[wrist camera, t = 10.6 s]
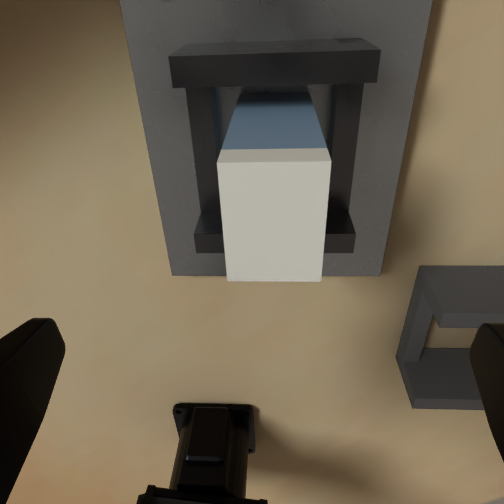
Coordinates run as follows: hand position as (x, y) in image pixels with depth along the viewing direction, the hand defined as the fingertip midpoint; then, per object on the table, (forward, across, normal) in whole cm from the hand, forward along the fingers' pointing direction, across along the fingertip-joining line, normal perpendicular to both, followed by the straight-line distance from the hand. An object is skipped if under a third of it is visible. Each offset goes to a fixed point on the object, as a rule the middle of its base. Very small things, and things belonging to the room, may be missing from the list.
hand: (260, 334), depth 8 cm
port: (+13, 0, 0) cm, 13 cm away
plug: (+12, 0, 0) cm, 12 cm away
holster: (+13, -12, +12) cm, 21 cm away
